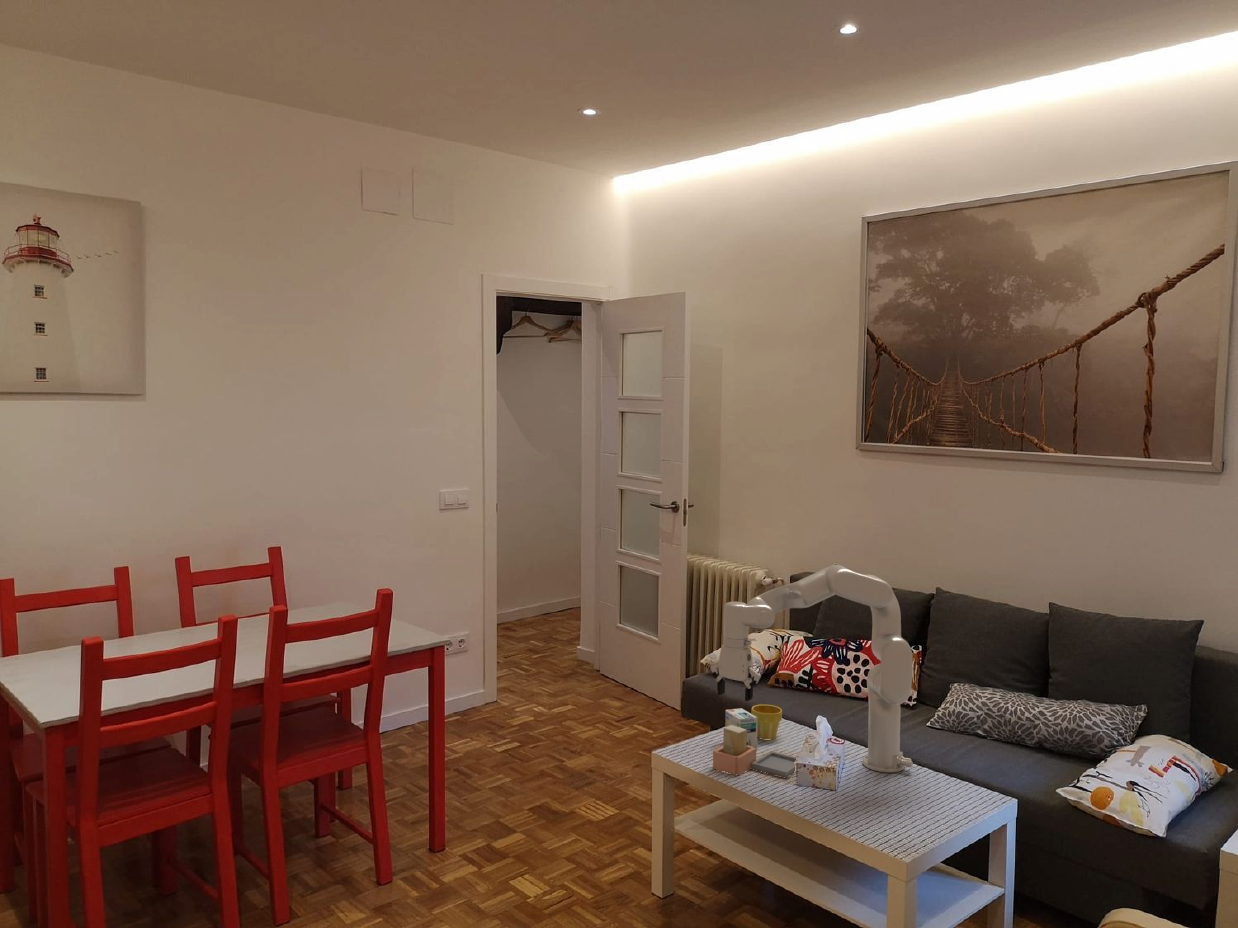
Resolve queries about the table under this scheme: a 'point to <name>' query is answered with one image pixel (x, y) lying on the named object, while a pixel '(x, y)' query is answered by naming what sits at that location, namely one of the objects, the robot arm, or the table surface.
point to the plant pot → (767, 720)
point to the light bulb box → (744, 723)
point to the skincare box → (734, 740)
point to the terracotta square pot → (734, 760)
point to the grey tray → (775, 764)
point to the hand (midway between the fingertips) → (734, 696)
